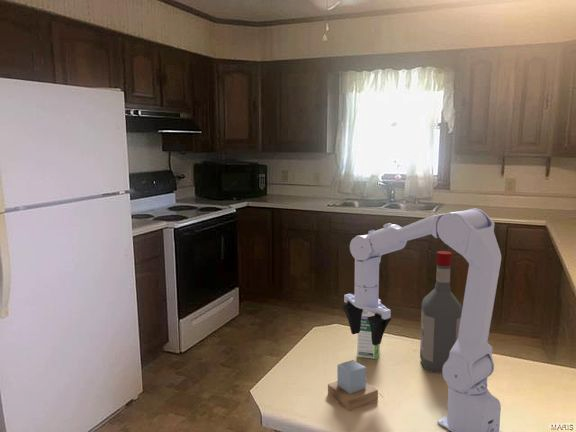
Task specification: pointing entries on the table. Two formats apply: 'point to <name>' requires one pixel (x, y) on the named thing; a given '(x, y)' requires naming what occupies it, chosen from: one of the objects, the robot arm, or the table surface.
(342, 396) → the walnut block
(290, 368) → the table surface
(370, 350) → the syrup box
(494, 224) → the robot arm
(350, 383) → the blue block
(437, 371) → the liquor
